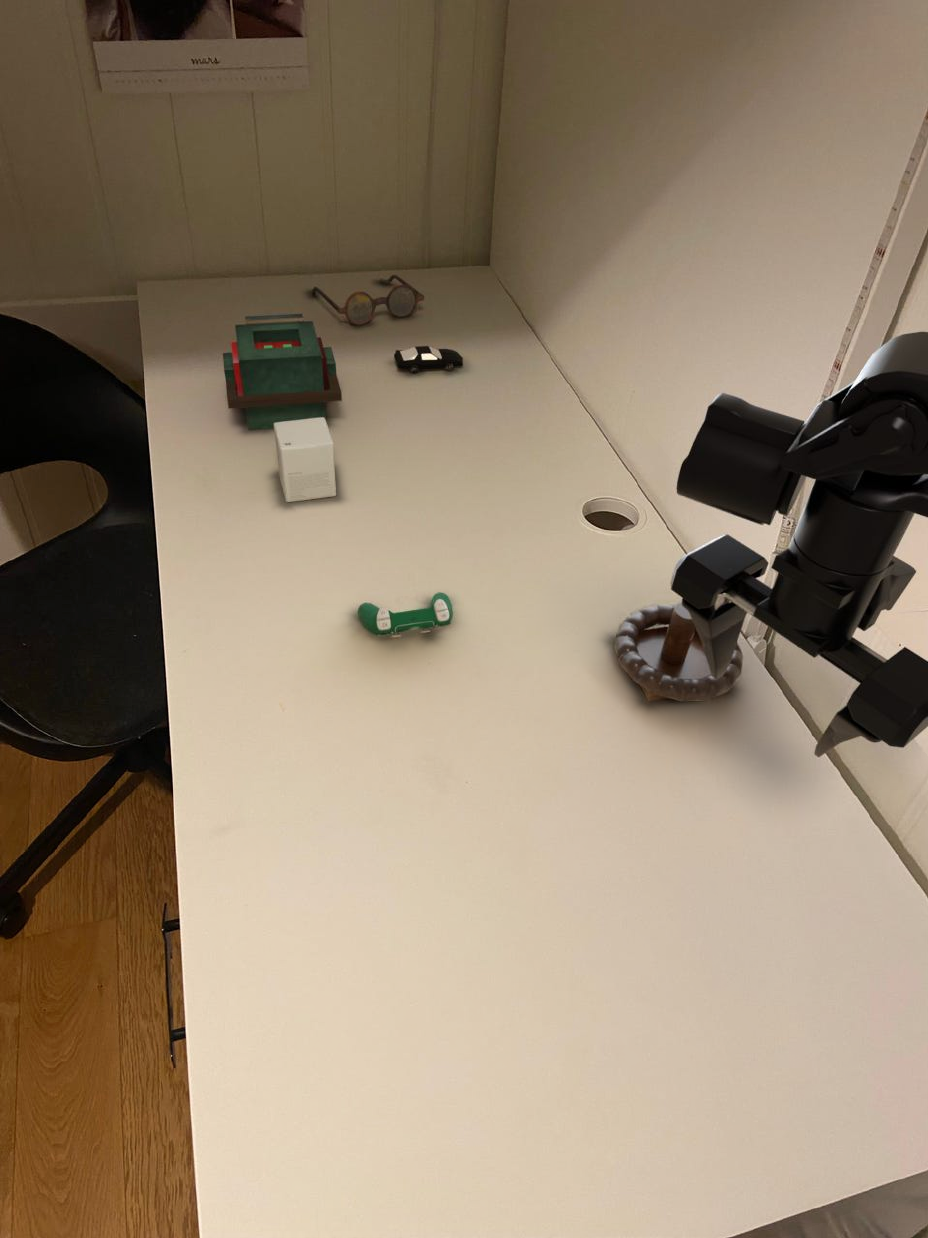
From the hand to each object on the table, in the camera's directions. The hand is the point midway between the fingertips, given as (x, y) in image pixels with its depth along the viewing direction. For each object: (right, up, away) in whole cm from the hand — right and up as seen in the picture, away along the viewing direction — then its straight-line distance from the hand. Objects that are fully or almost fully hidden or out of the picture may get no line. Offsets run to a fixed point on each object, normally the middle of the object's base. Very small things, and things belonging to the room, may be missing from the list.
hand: (767, 712), depth 62 cm
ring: (-2, +4, +18) cm, 19 cm away
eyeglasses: (-39, +59, +77) cm, 105 cm away
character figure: (-47, +37, +53) cm, 81 cm away
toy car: (-28, +44, +62) cm, 81 cm away
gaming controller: (-28, +6, +22) cm, 36 cm away
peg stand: (-2, +2, +20) cm, 20 cm away
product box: (-41, +23, +38) cm, 61 cm away
